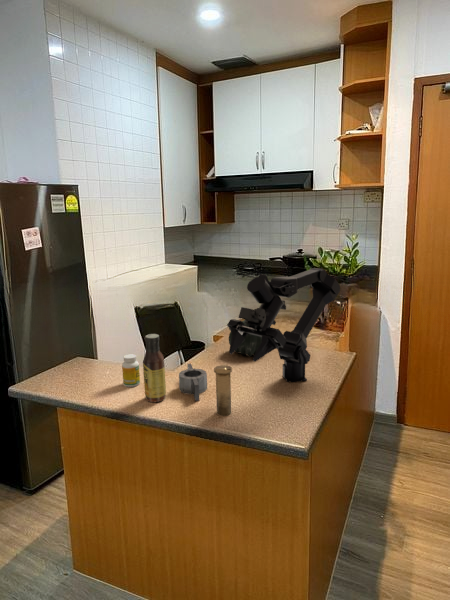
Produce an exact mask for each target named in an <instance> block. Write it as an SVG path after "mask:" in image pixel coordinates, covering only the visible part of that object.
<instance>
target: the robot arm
mask: <svg viewBox="0 0 450 600" xmlns="http://www.w3.org/2000/svg"><path fill="white" fill-rule="evenodd" d="M307 286H310V287H311V288H312V289H311V292H312V298H311V299H310V302H309V303H308V305H307V306H306V308H305V310H304V311H303V313H302V314H301V316H300V318H299V320H298V321H297V323H296V324H295V327H294V328H293V329H292V330H291V331H289V330H285V331H284V332H282V331H281V330H280V329H279V328H275V327H272V325H273V326H275V325H276V324H277V321H276V318H277V316H278V315H279V313H280V310H284V311H286V309H287V305H286V301H285V300H284V299H281V298H287V299H288V298H289V299H290V298H291V297H293V296H294V295H296V294H297V293H298V290H300V289H302V288H304V287H305V288H306V287H307ZM246 289H247V291H248V293H249V294H250V295H251V296H252V298H253V299H254V300H255V301H256V303H258V304H260V305H259V307H257V308H254V309H252V308H247V307H243V306H242V307H240V308H241V309H240V311H239V315H238V319H235V318H232V319H230V320H229V321H228V323H226V326H227V327H228V330H229V331H230V332H231V333H232V339H231V344H229V351H228V353H229V354H230V355H233V354H234V353H236V352H235V351H236V349H237V348H238V347H239V346H240V345H241V343H242V342H243V341H244V340H245V338H244V337H245V336H247V334H252V335H256V336H260V337H262V341H261V344H260V346H259V347H258V349H257V351H256V353H255V355H253V358H252V361H253V362H257V361H258V360H260V359H261V358H264V357H265V356H266V355H267V354H269V353H271V352H272V351H274V350H277V352H278V355H279V359H280V360H282V361H284V363H282V377H283V378H284V379H285V381H286V382H287V383H293V382H296V383H297V382H306V381H307V378H306V365H307V364H308V363H309V362H310V360H311V353H309V352H308V350H307V348H308V342H307V338H308V336H309V334H310V333H311V331H312V330H313V327H314V325H315V324H316V322H317V321H318V320H319V317H320V315H321V313H322V312H323V310H324V309H325V307H326V306H327V305H329V304H330V303H331V302H333V301H335V299H336V298H337V296H338V295H339V294H340V291H341V285H340V283H339V281H338V280H337V279H336V278H334V277H333V276H331V275H330V274H329V273H327V272H326V270H325V269H323V268H315V267H311V268H309V269H308V270H305V271H302V272H299V273H297V274H293V275H291V276H274V277H272V278H271V279H270V280H269V278H268V276H267V275H266V274H264V273H263V274H262V273H260V274H259V275H258V276H257V277H254V278H253V279H251V280H250V281H248V283H247V286H246ZM239 319H242V320H239ZM244 320H246V321H245V322H246V324H248V325H249V326H248V327H247V326H245V325H244V323H243V322H242V321H244Z"/></svg>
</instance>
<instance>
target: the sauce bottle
mask: <svg viewBox="0 0 450 600" xmlns="http://www.w3.org/2000/svg"><path fill="white" fill-rule="evenodd" d="M144 336H145V337H144V341H145V346H146V347H145V348H146V349H145V354H144V357H143V360H142V370H143V384H144V385H143V386H144V395H145V399H146V401H147V402H150V403H159V402H162V401H164V400H165V398H166V397H167V390H166V387H167V385H166V371H165V370H166V367H165V358H164V354H163V353H162V352H161V350H160V348H161V347H160V335H159V334H157V333H149V334H147V335H144Z"/></svg>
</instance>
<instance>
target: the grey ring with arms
mask: <svg viewBox="0 0 450 600" xmlns="http://www.w3.org/2000/svg"><path fill="white" fill-rule="evenodd" d="M186 364H187V369H184V370H181V371H180V372H179V373H178V384H179V392H181V393H182V394H185V395H186V394H187V395H193V398H194V400H195V402H200V394H202V393H204V392H206V391H207V390H208V374H207V371H206V370H204V369H201V368H193V365H192V363H186Z"/></svg>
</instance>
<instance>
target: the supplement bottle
mask: <svg viewBox="0 0 450 600" xmlns="http://www.w3.org/2000/svg"><path fill="white" fill-rule="evenodd" d="M121 369H122V380H123V381H122V382H123V383H122V384H123V386H125V387H126V388H128V387H129V388H132V387H133V388H134V387H137V386H139V385H140V383H141V377H140V376H141V375H140V364H139V361H138V360H137V355H136V354H134V353H133V354H132V353H131V354H130V353H129V354H125V355H124V356H123V362H122V364H121Z"/></svg>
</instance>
